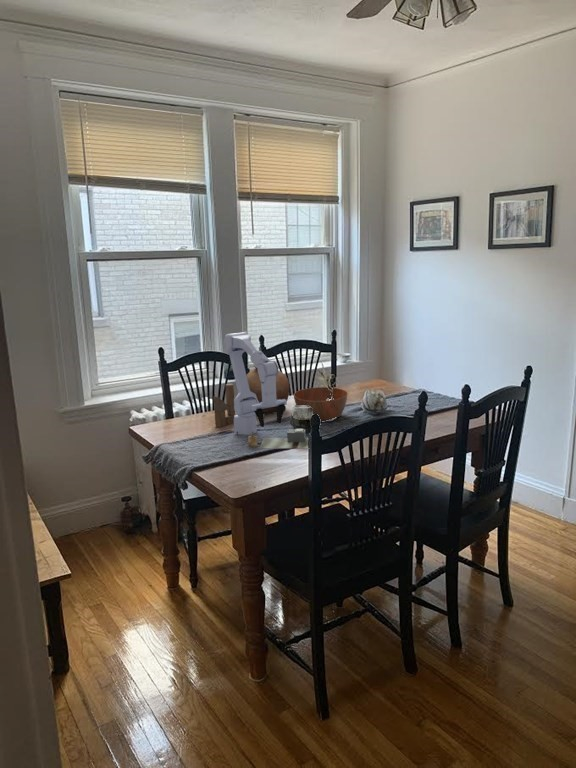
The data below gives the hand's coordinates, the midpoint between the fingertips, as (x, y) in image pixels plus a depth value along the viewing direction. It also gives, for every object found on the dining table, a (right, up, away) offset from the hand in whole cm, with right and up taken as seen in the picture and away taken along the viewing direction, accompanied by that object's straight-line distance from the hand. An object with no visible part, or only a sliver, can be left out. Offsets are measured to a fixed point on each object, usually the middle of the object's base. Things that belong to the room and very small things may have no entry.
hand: (270, 424), depth 228 cm
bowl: (+23, 0, +37) cm, 43 cm away
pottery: (-3, +2, +49) cm, 49 cm away
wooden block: (-21, -2, +34) cm, 40 cm away
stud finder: (+11, -7, +4) cm, 13 cm away
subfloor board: (+6, -9, +2) cm, 11 cm away
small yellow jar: (-7, -10, +1) cm, 12 cm away
